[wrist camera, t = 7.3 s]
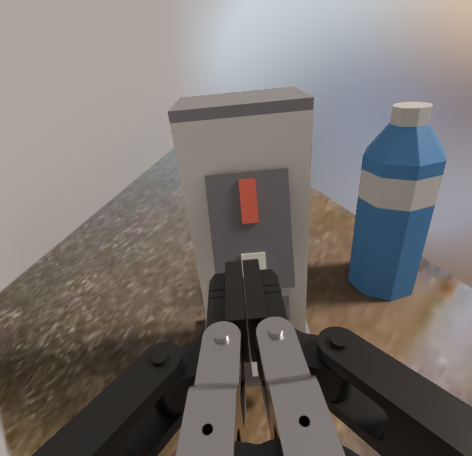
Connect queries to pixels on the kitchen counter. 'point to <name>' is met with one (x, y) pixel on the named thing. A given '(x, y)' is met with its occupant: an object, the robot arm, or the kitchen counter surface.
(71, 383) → the kitchen counter surface
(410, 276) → the water bottle
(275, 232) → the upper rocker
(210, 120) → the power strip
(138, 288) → the kitchen counter surface
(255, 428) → the kitchen counter surface
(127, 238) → the kitchen counter surface
